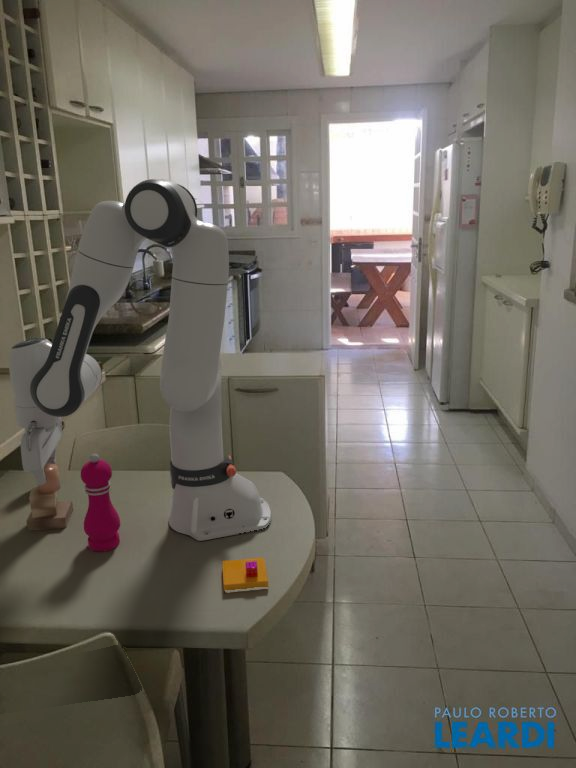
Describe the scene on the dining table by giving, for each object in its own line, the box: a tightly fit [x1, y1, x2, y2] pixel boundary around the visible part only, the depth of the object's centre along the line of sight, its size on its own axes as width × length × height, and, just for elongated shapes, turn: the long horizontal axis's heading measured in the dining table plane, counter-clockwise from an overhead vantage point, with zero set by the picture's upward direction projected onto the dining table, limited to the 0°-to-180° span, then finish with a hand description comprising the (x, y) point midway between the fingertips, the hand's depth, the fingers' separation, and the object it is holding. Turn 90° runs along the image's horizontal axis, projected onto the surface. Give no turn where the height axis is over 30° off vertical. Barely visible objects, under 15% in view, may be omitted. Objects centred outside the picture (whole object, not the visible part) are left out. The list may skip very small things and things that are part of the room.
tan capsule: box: [36, 464, 61, 494], centre depth 137 cm, size 5×5×5 cm
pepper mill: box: [80, 453, 121, 552], centre depth 127 cm, size 7×7×20 cm
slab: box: [26, 500, 74, 531], centre depth 140 cm, size 8×8×3 cm
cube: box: [28, 486, 59, 518], centre depth 138 cm, size 5×5×5 cm
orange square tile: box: [222, 557, 269, 592], centre depth 117 cm, size 8×8×4 cm
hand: (47, 473), depth 138 cm, fingers open, 8 cm apart
